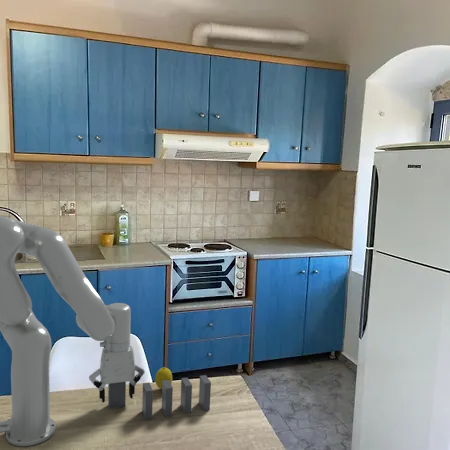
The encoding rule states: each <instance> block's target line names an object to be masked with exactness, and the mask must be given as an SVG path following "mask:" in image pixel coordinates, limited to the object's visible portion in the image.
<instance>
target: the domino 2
mask: <svg viewBox="0 0 450 450" xmlns="http://www.w3.org/2000/svg"><path fill="white" fill-rule="evenodd" d="M153 391H154V390H153V388H152V386H151V383H150V382H143V383H142V401H141V402H142V405H141V406H142V407H141V409H142V414H143V417H144V418H143V419H144V420H145V421H148V420H153V398H154V393H153Z"/></svg>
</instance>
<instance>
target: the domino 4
mask: <svg viewBox="0 0 450 450" xmlns="http://www.w3.org/2000/svg"><path fill="white" fill-rule="evenodd" d="M180 383H181V384H180V385H181V386H180V407H181V408H182V409H181V410H182V411H183V413H184V414H185V415H186V414H191V413H192V402H193V401H192V397H193V394H192V393H193V384H192V382H191V381H190V379H189V378H188V377H182V378H181V380H180Z"/></svg>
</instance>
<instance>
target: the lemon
mask: <svg viewBox="0 0 450 450" xmlns="http://www.w3.org/2000/svg"><path fill="white" fill-rule="evenodd" d="M164 380H169V381H170V383H171V384H172V383H173V374H172V371H171V370H170V369H169V368H168V367H165V366H163V367H160V368H159V369H158V370H157V372H156V374H155V384H156V386H157V388H159V389H160V390H162V381H164Z"/></svg>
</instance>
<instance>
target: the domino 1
mask: <svg viewBox="0 0 450 450" xmlns="http://www.w3.org/2000/svg"><path fill="white" fill-rule="evenodd" d="M126 385H127V384H126V382H121V383H113V384H107V387H108V389H107V391H108V392H107V394H108V395H107V406H108V409H109V410H110V409H116V408H122V407H126V398H127V397H126V394H127V392H126V391H127V390H126V389H127V387H126Z"/></svg>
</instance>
